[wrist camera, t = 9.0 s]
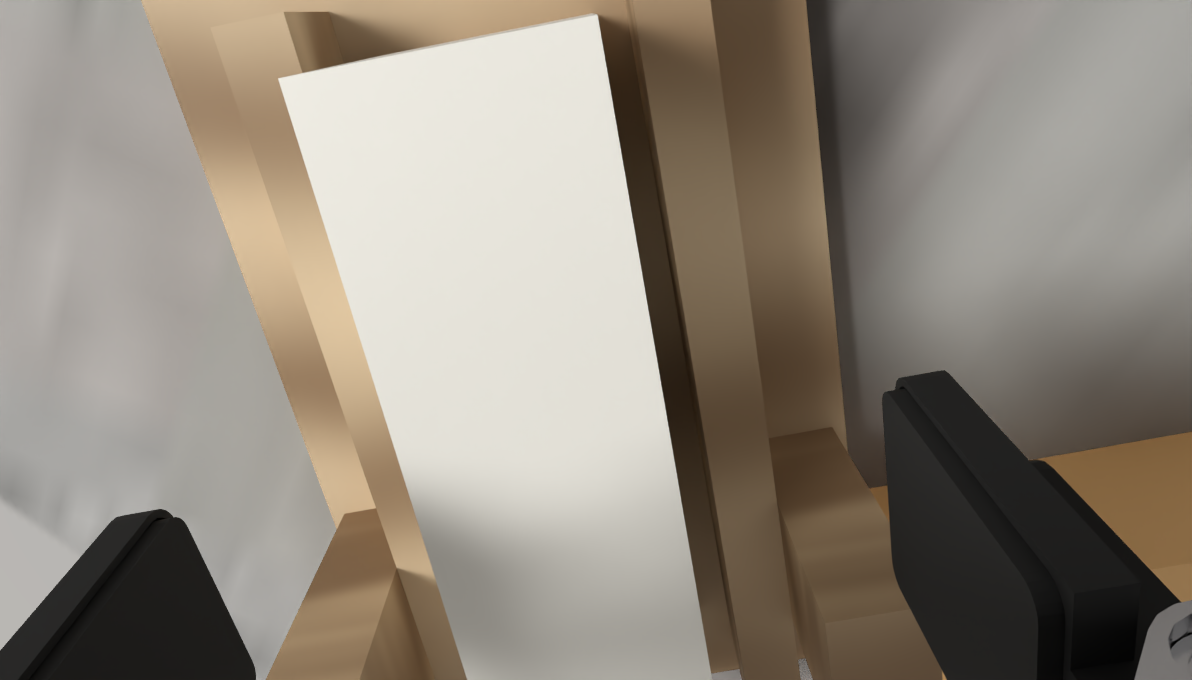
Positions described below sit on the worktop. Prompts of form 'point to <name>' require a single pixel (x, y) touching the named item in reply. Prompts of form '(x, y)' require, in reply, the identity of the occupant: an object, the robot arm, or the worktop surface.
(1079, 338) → the worktop surface
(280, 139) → the cradle
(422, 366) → the white rectangular block
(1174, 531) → the light orange rectangular block
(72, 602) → the robot arm
